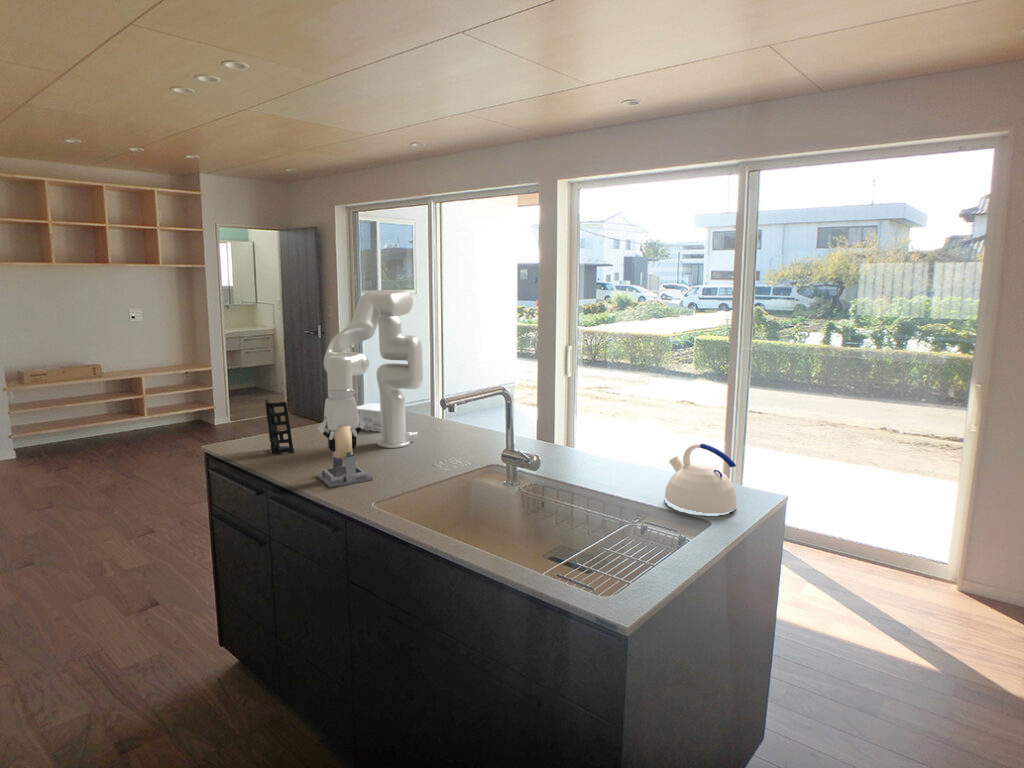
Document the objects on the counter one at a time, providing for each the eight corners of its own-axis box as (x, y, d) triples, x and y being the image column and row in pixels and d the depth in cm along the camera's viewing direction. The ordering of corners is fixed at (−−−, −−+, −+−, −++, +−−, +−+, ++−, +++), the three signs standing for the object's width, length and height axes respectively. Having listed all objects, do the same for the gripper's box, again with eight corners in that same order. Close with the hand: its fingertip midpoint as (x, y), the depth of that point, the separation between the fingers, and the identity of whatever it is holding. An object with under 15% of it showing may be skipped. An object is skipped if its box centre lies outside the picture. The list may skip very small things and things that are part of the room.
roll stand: (357, 468, 217) (356, 440, 215) (373, 480, 205) (372, 450, 203) (315, 475, 210) (314, 446, 208) (329, 488, 197) (328, 457, 195)
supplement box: (402, 426, 278) (402, 405, 277) (383, 433, 267) (382, 411, 265) (372, 422, 286) (371, 401, 284) (352, 428, 274) (351, 407, 273)
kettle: (687, 487, 199) (689, 431, 196) (750, 505, 184) (754, 444, 181) (648, 503, 186) (651, 443, 182) (713, 523, 171) (717, 458, 168)
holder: (300, 449, 240) (293, 398, 235) (287, 456, 233) (280, 404, 228) (276, 447, 243) (269, 396, 238) (263, 454, 236) (255, 402, 231)
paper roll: (349, 452, 210) (347, 422, 208) (355, 456, 205) (354, 425, 203) (330, 454, 206) (329, 424, 205) (336, 458, 201) (335, 427, 200)
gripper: (362, 390, 210) (364, 443, 213) (309, 395, 201) (312, 450, 204) (370, 393, 204) (372, 448, 207) (316, 398, 195) (319, 456, 197)
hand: (342, 449), depth 205 cm, fingers closed on paper roll, 6 cm apart
